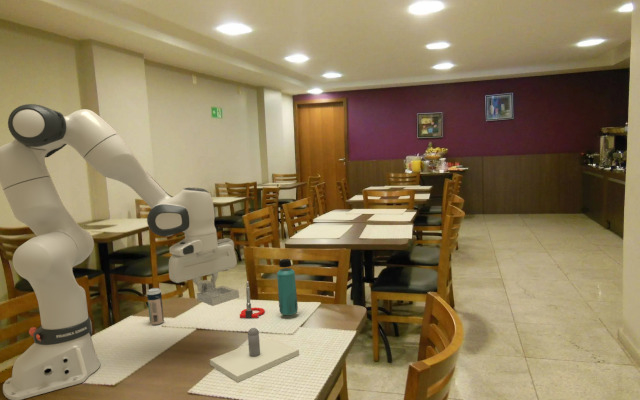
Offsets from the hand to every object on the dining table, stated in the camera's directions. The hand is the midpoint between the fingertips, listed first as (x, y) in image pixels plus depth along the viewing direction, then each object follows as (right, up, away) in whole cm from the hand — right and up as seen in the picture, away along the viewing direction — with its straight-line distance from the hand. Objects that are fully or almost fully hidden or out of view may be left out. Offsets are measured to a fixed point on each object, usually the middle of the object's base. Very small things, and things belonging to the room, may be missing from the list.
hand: (206, 289), depth 131 cm
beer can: (-24, -17, +25) cm, 39 cm away
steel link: (+3, -2, -3) cm, 4 cm away
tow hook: (+9, -15, +29) cm, 34 cm away
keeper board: (+15, -18, -7) cm, 24 cm away
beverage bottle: (+22, -14, +25) cm, 37 cm away
